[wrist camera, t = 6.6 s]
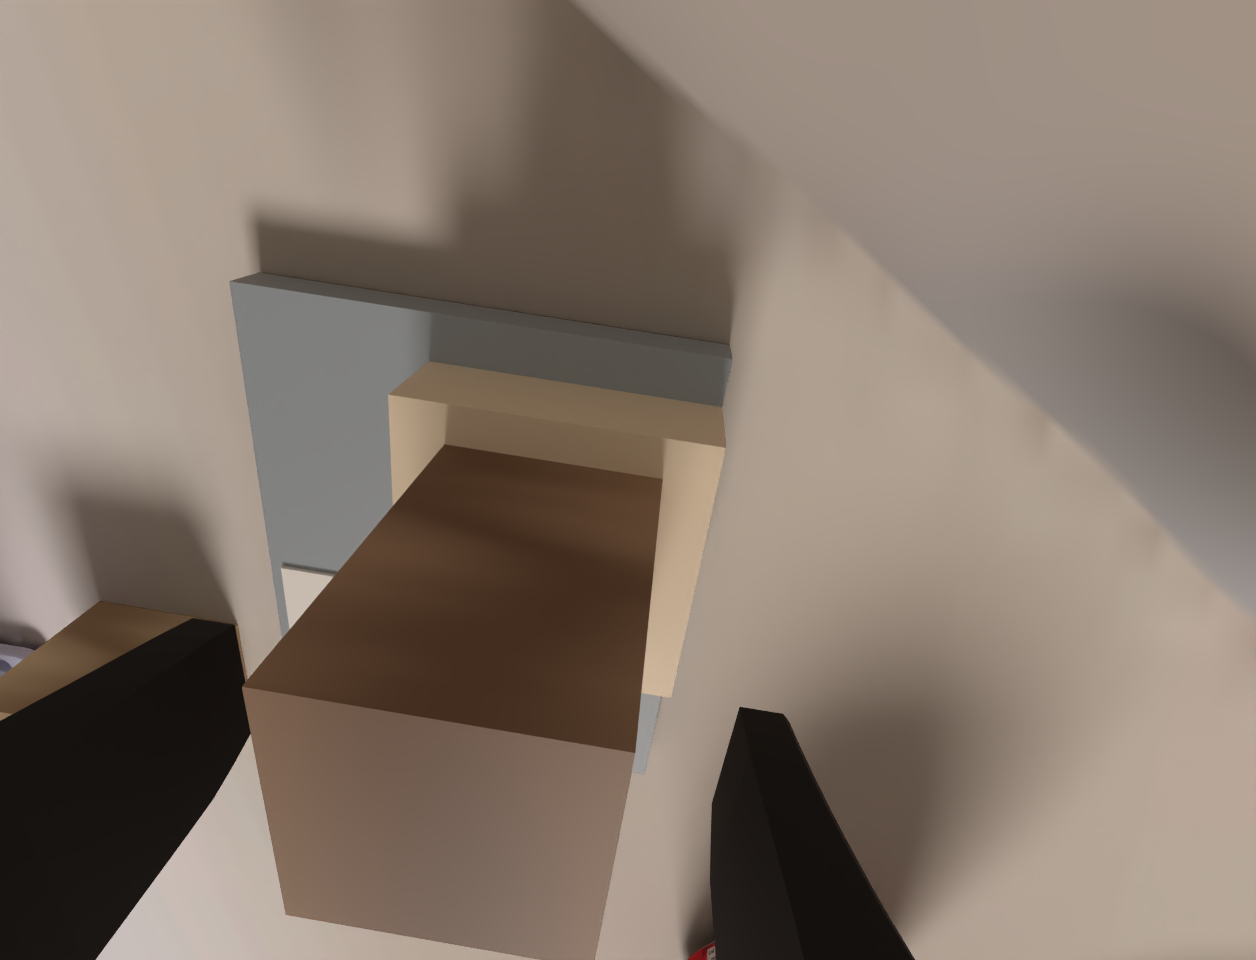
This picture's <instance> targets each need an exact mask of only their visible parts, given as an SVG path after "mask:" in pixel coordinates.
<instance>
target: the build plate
mask: <svg viewBox="0 0 1256 960" xmlns="http://www.w3.org/2000/svg"><path fill="white" fill-rule="evenodd" d="M229 282H230V289H231V295H232V302H233V309H234V316H235V322H236V329H237V336H238V343H239V350H240V356H241V363H242V370H243V377H244V383H245V390H246V397H247V404H248V410H249V417H250V424H251V431H252V437H253V444H254V451H255V458H256V465H257V471H258V478H259V485H260V492H261V498H262V505H263V512H264V519H265V525H266V532H267V539H268V546H269V552H270V559H271V566H272V573H273V579H274V586H275V593H276V600H277V607H278V613H279V620H280V627H281V634H282V638H283V637H284V636H285V634H286V633H287V632H288V631H289V630H290V628H291V627H292V626H293V625H294V624H295V622H296V621H297V620H298V619H299V618H300V617H301V615H302V614H303V613H304V612H305V611H306V609H307V608H308V607H309V606H310V605H311V603H312V602H313V601H314V600H315V599H316V597H317V596H318V595H319V594H320V593H321V591H322V590H323V589H324V588H325V587H326V585H327V584H328V583H329V582H330V581H331V579H332V578H333V577H334V576H335V575H336V573H337V572H338V571H339V570H340V569H341V567H342V566H343V565H344V564H345V563H346V561H347V560H348V559H349V558H350V557H351V555H352V554H353V553H354V552H355V551H356V549H357V548H358V547H359V546H360V545H361V544H362V542H363V541H364V540H365V539H366V538H367V536H368V535H369V534H370V533H371V532H372V530H373V529H374V528H375V527H376V526H377V524H378V523H379V522H380V521H381V520H382V518H383V517H384V516H385V515H386V514H387V512H388V511H389V510H390V509H391V508H392V506H393V505H394V504H395V503H396V502H397V500H398V499H399V498H400V497H401V496H402V494H403V493H404V492H405V491H406V490H407V488H408V487H409V486H410V485H411V484H412V482H413V481H414V480H415V479H416V478H417V476H418V475H419V474H420V473H421V472H422V471H423V469H424V468H425V467H426V466H427V465H428V463H429V462H430V461H431V460H432V459H433V457H434V456H435V455H436V454H437V453H438V451H439V450H440V449H441V448H442V447H443V445H444V444H446V445H452V446H458V447H465V448H471V449H477V450H483V451H490V452H496V453H502V454H509V455H515V456H521V457H527V458H534V459H540V460H546V461H553V462H559V463H565V464H571V465H578V466H584V467H590V468H597V469H603V470H609V471H615V472H622V473H628V474H634V475H641V476H647V477H653V478H659V479H663V482H662V492H661V502H660V512H659V522H658V532H657V542H656V552H655V562H654V572H653V582H652V592H651V602H650V612H649V622H648V632H647V642H646V652H645V662H644V672H643V682H642V692H641V702H640V711H639V721H638V731H637V741H636V751H635V757H634V762H633V768H632V772H633V773H639V774H645V771H646V767H647V762H648V757H649V752H650V748H651V743H652V738H653V733H654V729H655V724H656V719H657V714H658V710H659V705H660V700H661V696H662V697H668V698H671V696H672V691H673V687H674V682H675V678H676V673H677V669H678V664H679V660H680V655H681V651H682V646H683V642H684V637H685V632H686V628H687V623H688V619H689V614H690V610H691V605H692V601H693V596H694V592H695V587H696V582H697V578H698V573H699V569H700V564H701V560H702V555H703V551H704V546H705V542H706V537H707V533H708V528H709V523H710V519H711V514H712V510H713V505H714V501H715V496H716V492H717V487H718V483H719V478H720V474H721V469H722V464H723V460H724V455H725V451H726V441H725V431H724V421H723V410H722V405H723V401H724V396H725V391H726V386H727V382H728V377H729V372H730V367H731V363H732V355H731V348H730V345H726V344H720V343H713V342H707V341H701V340H694V339H688V338H681V337H675V336H668V335H662V334H655V333H649V332H642V331H636V330H629V329H623V328H616V327H610V326H603V325H597V324H590V323H584V322H577V321H571V320H564V319H558V318H551V317H545V316H538V315H532V314H525V313H519V312H512V311H506V310H499V309H493V308H486V307H480V306H473V305H467V304H460V303H454V302H447V301H441V300H434V299H428V298H422V297H415V296H409V295H402V294H396V293H389V292H383V291H376V290H370V289H363V288H357V287H350V286H344V285H337V284H331V283H324V282H318V281H311V280H305V279H298V278H292V277H285V276H279V275H272V274H266V273H256V274H253V275H249V276H246V277H242V278H239V279H236V280H232V281H229Z"/></svg>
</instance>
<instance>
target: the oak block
mask: <svg viewBox="0 0 1256 960" xmlns="http://www.w3.org/2000/svg"><path fill="white" fill-rule="evenodd" d="M192 618H196V617H190V616H184V615H178V614H172V613H167V612H161V611H155V610H149V609H144V608H138V607H132V606H126V605H120V604H115V603H109V602H103V601H99V602H98V603H97V604H95V605H94V606H93V607H91V608H90V609H89V610H87V611H86V612H85V613H84V614H82V615H81V616H80V617H78V618H77V619H76V620H74V621H73V622H72V623H70V624H69V625H68V626H67V627H65V628H64V629H63V630H61V631H60V632H59V633H57V634H56V635H55V636H53V637H52V638H51V639H50V640H48V641H47V642H46V643H44V644H43V645H42V646H40V647H39V648H38V649H36V650H35V651H34V652H33V653H31V654H30V655H29V656H27V657H26V658H25V659H23V660H22V661H21V662H19V663H18V664H17V665H15V666H14V667H13V668H12V669H10V670H9V671H8V672H6V673H5V674H4V675H2V676H1V677H0V721H1V720H2V719H4V718H6V717H8V716H10V715H12V714H14V713H16V712H17V711H19V710H21V709H23V708H25V707H27V706H29V705H30V704H32V703H34V702H36V701H38V700H40V699H42V698H44V697H45V696H47V695H49V694H51V693H53V692H55V691H57V690H58V689H60V688H62V687H64V686H66V685H68V684H70V683H71V682H73V681H75V680H77V679H79V678H81V677H83V676H84V675H86V674H88V673H90V672H92V671H94V670H95V669H97V668H99V667H101V666H103V665H105V664H106V663H108V662H110V661H112V660H114V659H116V658H117V657H119V656H121V655H123V654H125V653H127V652H128V651H130V650H132V649H134V648H136V647H138V646H140V645H141V644H143V643H145V642H147V641H149V640H151V639H153V638H154V637H156V636H158V635H160V634H162V633H164V632H166V631H168V630H170V629H172V628H174V627H176V626H178V625H180V624H182V623H184V622H186V621H188V620H190V619H192ZM197 619H201V618H197ZM203 620H207V619H203ZM209 621H213V620H209ZM215 622H219V621H215ZM222 623H224V622H222ZM228 624H230V623H228ZM234 625H235V628H236V634H237V639H238V644H239V650H240V655H241V660H242V666H243V671H244V677H245V682H246V681H247V675H246V669H245V663H244V658H243V652H242V646H241V641H240V635H239V629H238V625H236V624H234Z"/></svg>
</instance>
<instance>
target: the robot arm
mask: <svg viewBox="0 0 1256 960" xmlns="http://www.w3.org/2000/svg"><path fill="white" fill-rule="evenodd" d="M34 651H35V650H33V649H29V648H25V647H19V646H13V645H7V644H1V643H0V677H1V676H2V675H4V674H5V673H6V672H8V671H9V670H10V669H12V668H13V667H14V666H15V665H17V664H18V663H19V662H21V661H22V660H23V659H25V658H26V657H27V656H29V655H30V654H31V653H33V652H34ZM244 684H245V677H244V671H243V666H242V660H241V655H240V650H239V644H238V639H237V634H236V628H235V625H234V624H228V623H222V622H215V621H209V620H203V619H197V618H192V619H190V620H188V621H186V622H184V623H182V624H180V625H178V626H176V627H174V628H172V629H170V630H168V631H166V632H164V633H162V634H160V635H158V636H156V637H154V638H153V639H151V640H149V641H147V642H145V643H143V644H141V645H140V646H138V647H136V648H134V649H132V650H130V651H128V652H127V653H125V654H123V655H121V656H119V657H117V658H116V659H114V660H112V661H110V662H108V663H106V664H105V665H103V666H101V667H99V668H97V669H95V670H94V671H92V672H90V673H88V674H86V675H84V676H83V677H81V678H79V679H77V680H75V681H73V682H71V683H70V684H68V685H66V686H64V687H62V688H60V689H58V690H57V691H55V692H53V693H51V694H49V695H47V696H45V697H44V698H42V699H40V700H38V701H36V702H34V703H32V704H30V705H29V706H27V707H25V708H23V709H21V710H19V711H17V712H16V713H14V714H12V715H10V716H8V717H6V718H4V719H2V720H1V721H0V960H96V958H97V957H98V955H99V954H100V953H101V951H102V950H103V949H104V947H105V946H106V945H107V943H108V942H109V941H110V939H111V938H112V936H113V935H114V934H115V932H116V931H117V930H118V928H119V927H120V926H121V924H122V923H123V922H124V920H125V919H126V918H127V916H128V915H129V913H130V912H131V911H132V909H133V908H134V907H135V905H136V904H137V903H138V901H139V900H140V899H141V897H142V896H143V894H144V893H145V892H146V890H147V889H148V888H149V886H150V885H151V884H152V882H153V881H154V880H155V878H156V877H157V876H158V874H159V873H160V871H161V870H162V869H163V867H164V866H165V865H166V863H167V862H168V861H169V859H170V858H171V857H172V855H173V854H174V852H175V851H176V850H177V848H178V847H179V846H180V844H181V843H182V841H183V840H184V839H185V837H186V836H187V835H188V833H189V832H190V830H191V829H192V828H193V826H194V825H195V824H196V822H197V821H198V819H199V818H200V817H201V815H202V814H203V812H204V811H205V810H206V808H207V807H208V805H209V804H210V803H211V801H212V800H213V798H214V797H215V795H216V793H217V792H218V790H219V788H220V787H221V785H222V783H223V782H224V780H225V778H226V777H227V775H228V773H229V771H230V770H231V768H232V766H233V765H234V763H235V761H236V759H237V757H238V756H239V754H240V752H241V750H242V748H243V746H244V745H245V743H246V741H247V739H248V737H249V736H250V734H251V732H250V727H249V722H248V716H247V711H246V706H245V701H244V696H243V690H242V686H243V685H244ZM710 886H711V901H712V915H713V928H714V942H715V955H716V960H915V959H914V957H913V956H912V954H911V952H910V951H909V949H908V947H907V946H906V944H905V942H904V941H903V939H902V937H901V936H900V934H899V932H898V931H897V929H896V927H895V926H894V924H893V922H892V921H891V919H890V917H889V916H888V914H887V912H886V910H885V909H884V907H883V905H882V904H881V902H880V900H879V898H878V897H877V895H876V893H875V891H874V890H873V888H872V886H871V884H870V882H869V881H868V879H867V877H866V875H865V873H864V871H863V870H862V868H861V866H860V864H859V862H858V860H857V859H856V857H855V855H854V853H853V851H852V849H851V848H850V846H849V844H848V842H847V840H846V838H845V837H844V835H843V833H842V831H841V829H840V827H839V825H838V823H837V821H836V819H835V817H834V815H833V814H832V812H831V810H830V808H829V806H828V804H827V802H826V800H825V797H824V795H823V793H822V791H821V789H820V787H819V785H818V783H817V781H816V779H815V777H814V775H813V773H812V771H811V769H810V767H809V765H808V763H807V760H806V758H805V756H804V754H803V752H802V750H801V747H800V745H799V743H798V741H797V739H796V736H795V734H794V732H793V730H792V727H791V725H790V723H789V721H788V720H787V718H786V717H785V716H784V714H780V713H774V712H768V711H762V710H756V709H750V708H743V707H740V708H739V711H738V715H737V718H736V722H735V725H734V729H733V732H732V736H731V739H730V742H729V746H728V749H727V753H726V756H725V760H724V763H723V767H722V770H721V774H720V777H719V781H718V784H717V788H716V791H715V795H714V798H713V801H712V819H711V859H710Z"/></svg>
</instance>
